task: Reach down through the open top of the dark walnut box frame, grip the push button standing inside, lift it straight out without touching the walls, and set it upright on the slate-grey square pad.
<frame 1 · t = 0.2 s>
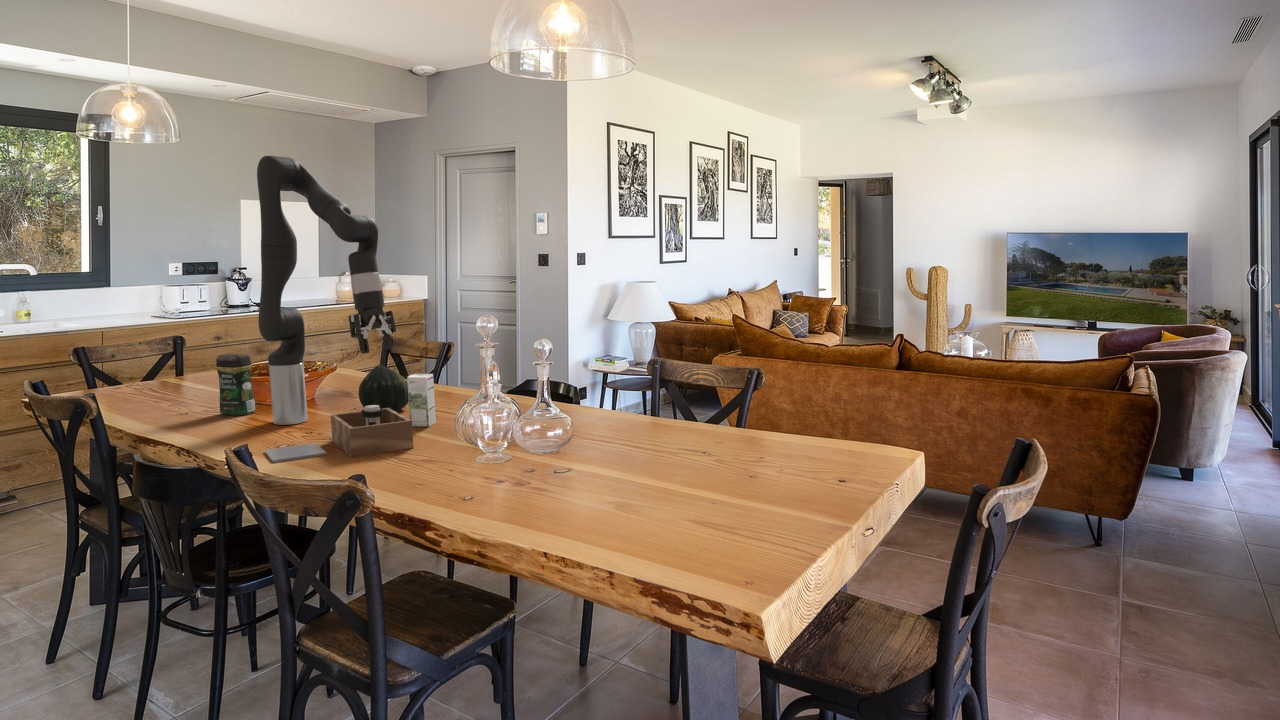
hand: (377, 351, 210), 23 cm above the table, tool pointing down, fingers open, 8 cm apart
coffee jar: (238, 414, 243), on the table
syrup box: (423, 426, 224), on the table
slate pad: (295, 453, 194), on the table
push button: (372, 445, 202), on the table
walnut box frame: (372, 444, 202), on the table
squash: (384, 411, 244), on the table
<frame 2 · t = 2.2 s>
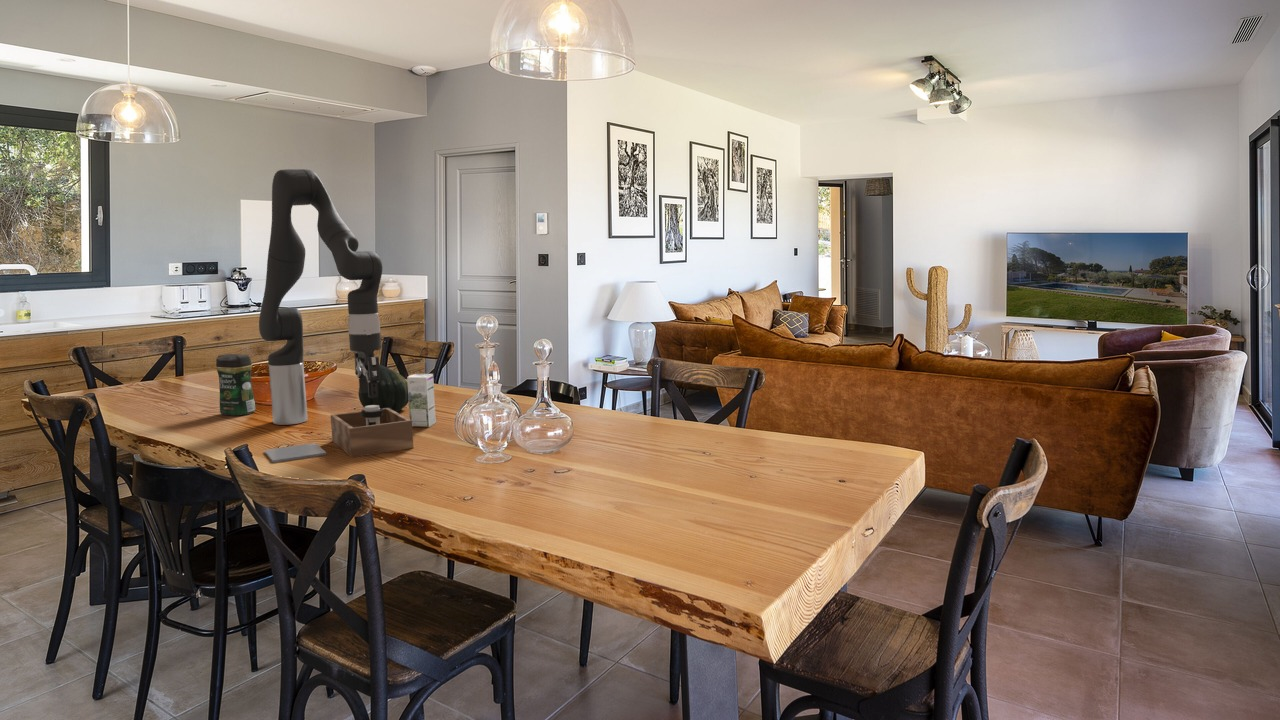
hand: (368, 395, 200), 13 cm above the table, tool pointing down, fingers open, 8 cm apart
nothing on the table moved.
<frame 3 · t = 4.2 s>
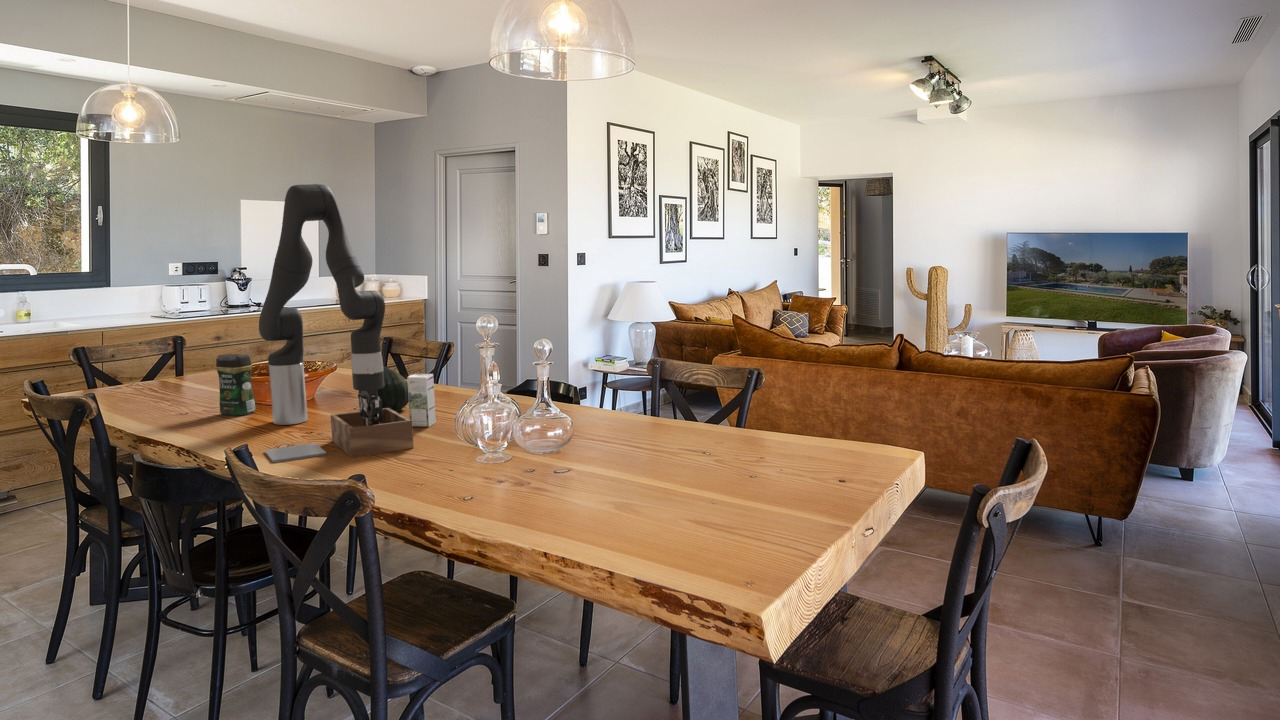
hand: (372, 435, 201), 2 cm above the table, tool pointing down, fingers closed on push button, 5 cm apart
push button: (372, 445, 202), on the table, touching gripper
everything else where it was.
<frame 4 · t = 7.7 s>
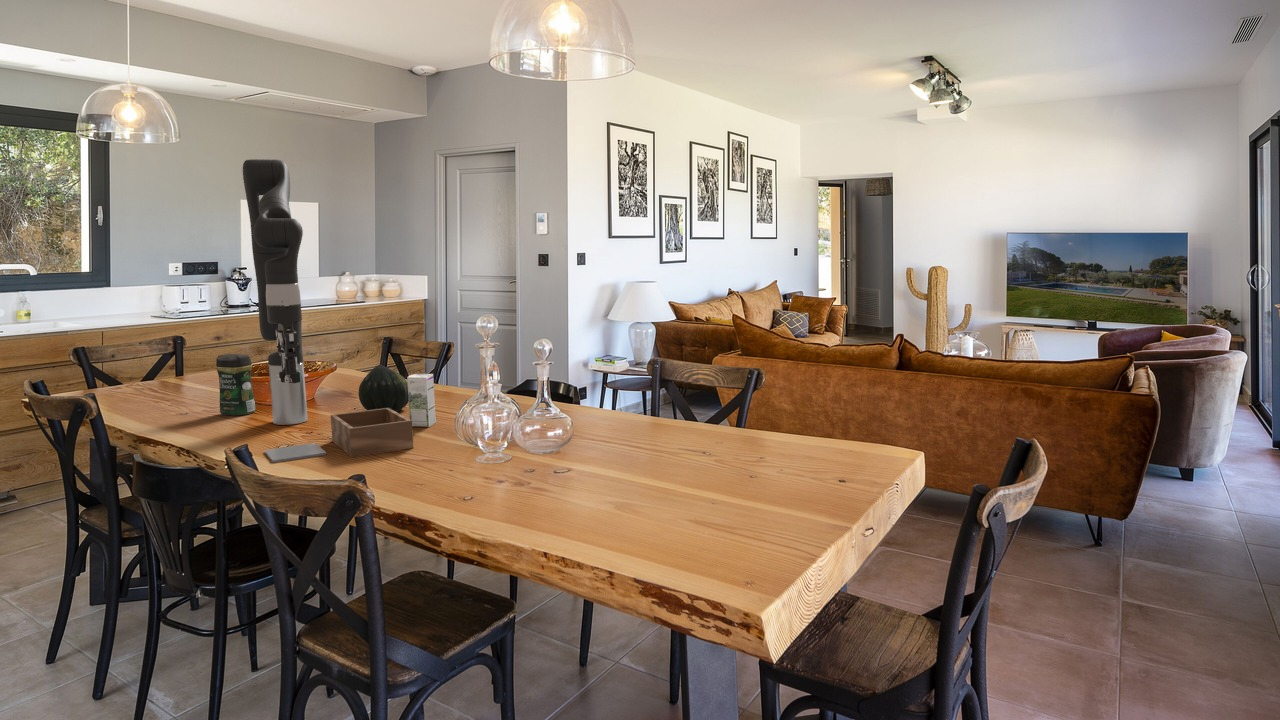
hand: (289, 372, 191), 20 cm above the table, tool pointing down, fingers closed on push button, 5 cm apart
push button: (289, 382, 192), point 18 cm above the table, touching gripper
everything else where it was.
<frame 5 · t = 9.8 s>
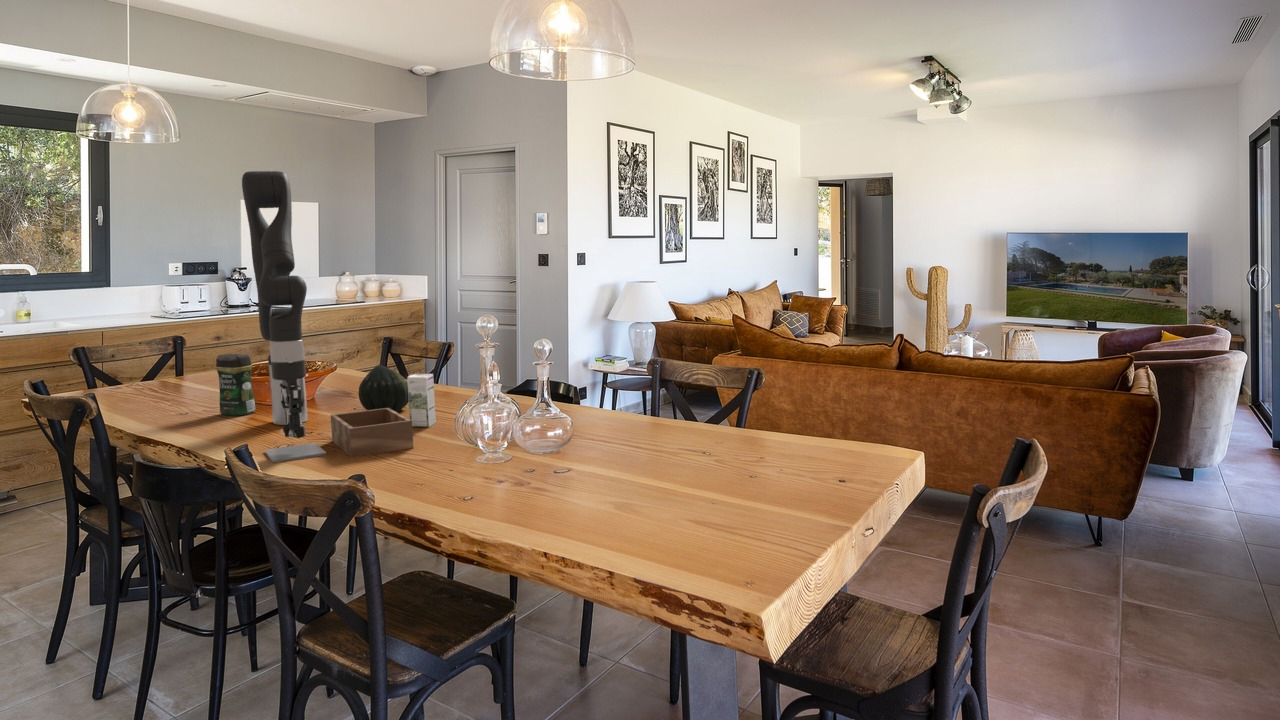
hand: (293, 427, 193), 7 cm above the table, tool pointing down, fingers closed on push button, 5 cm apart
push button: (293, 437, 194), point 4 cm above the table, touching gripper
everything else where it was.
when the fingers open (4 cm above the table, at t = 11.4 s): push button stays where it is, resting on slate pad.
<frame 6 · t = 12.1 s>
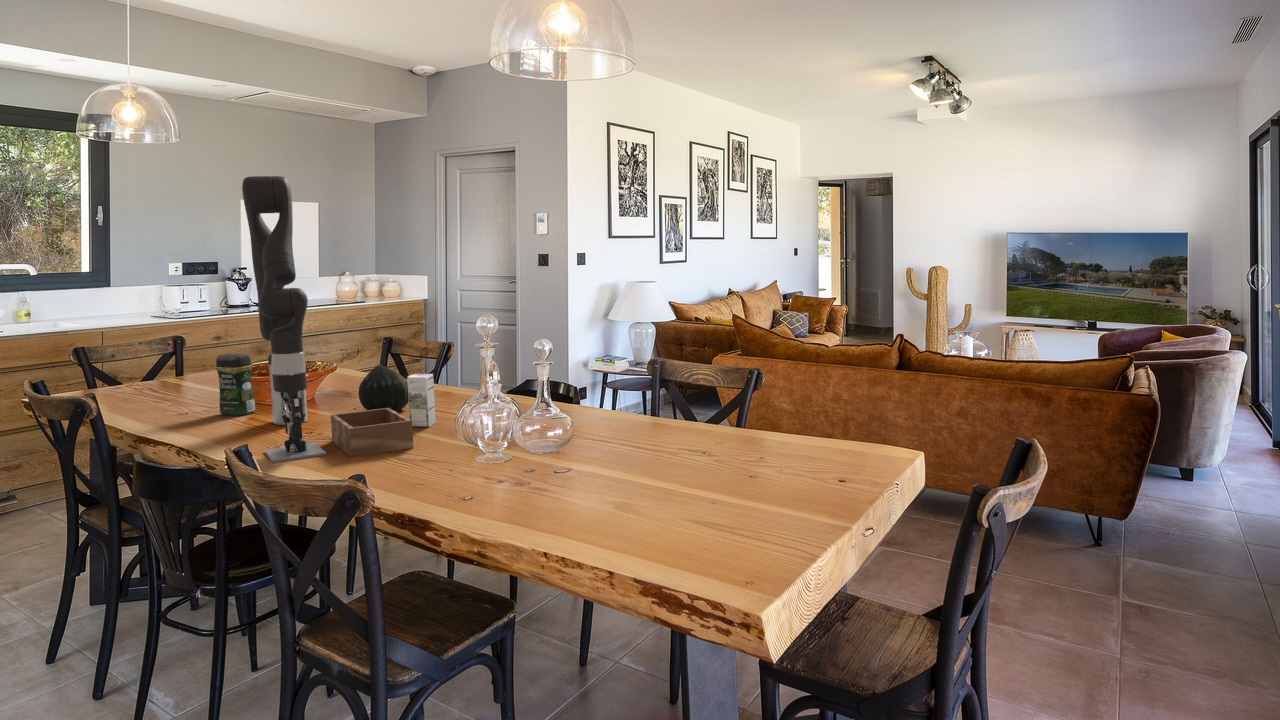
hand: (294, 436, 193), 4 cm above the table, tool pointing down, fingers open, 8 cm apart
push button: (294, 451, 195), resting on slate pad
everything else where it was.
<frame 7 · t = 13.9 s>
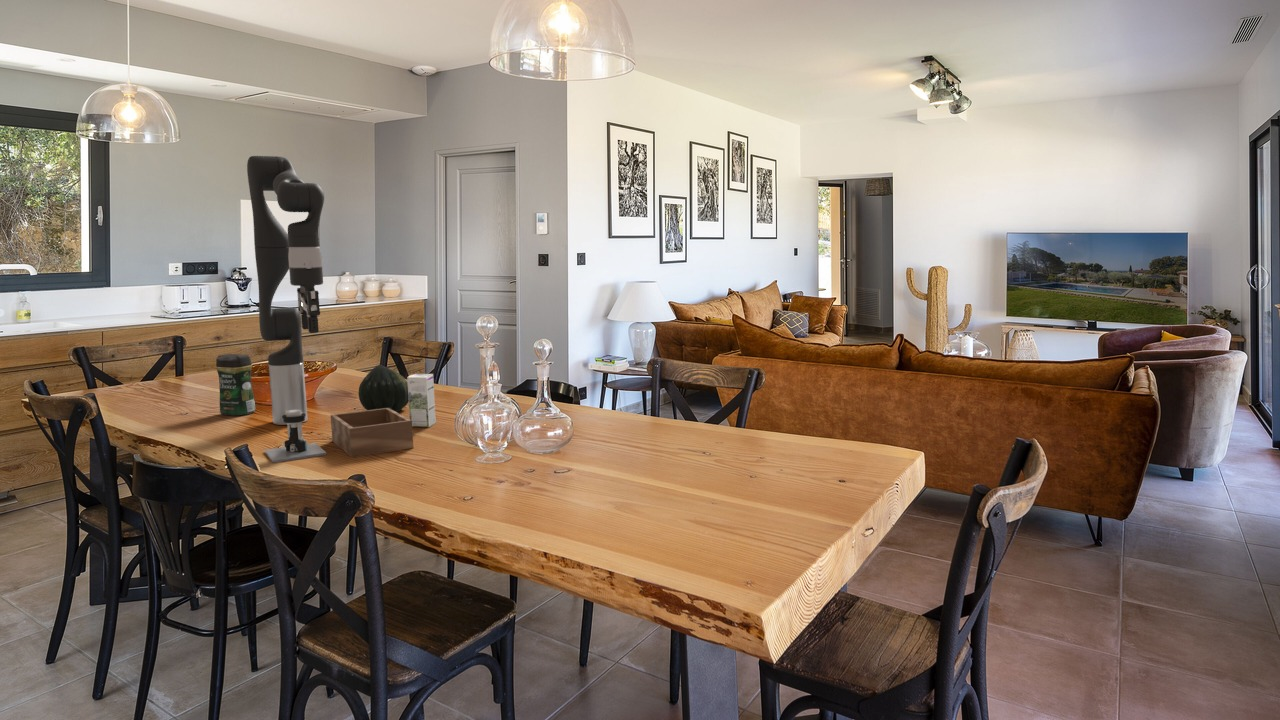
hand: (310, 330, 197), 30 cm above the table, tool pointing down, fingers open, 8 cm apart
nothing on the table moved.
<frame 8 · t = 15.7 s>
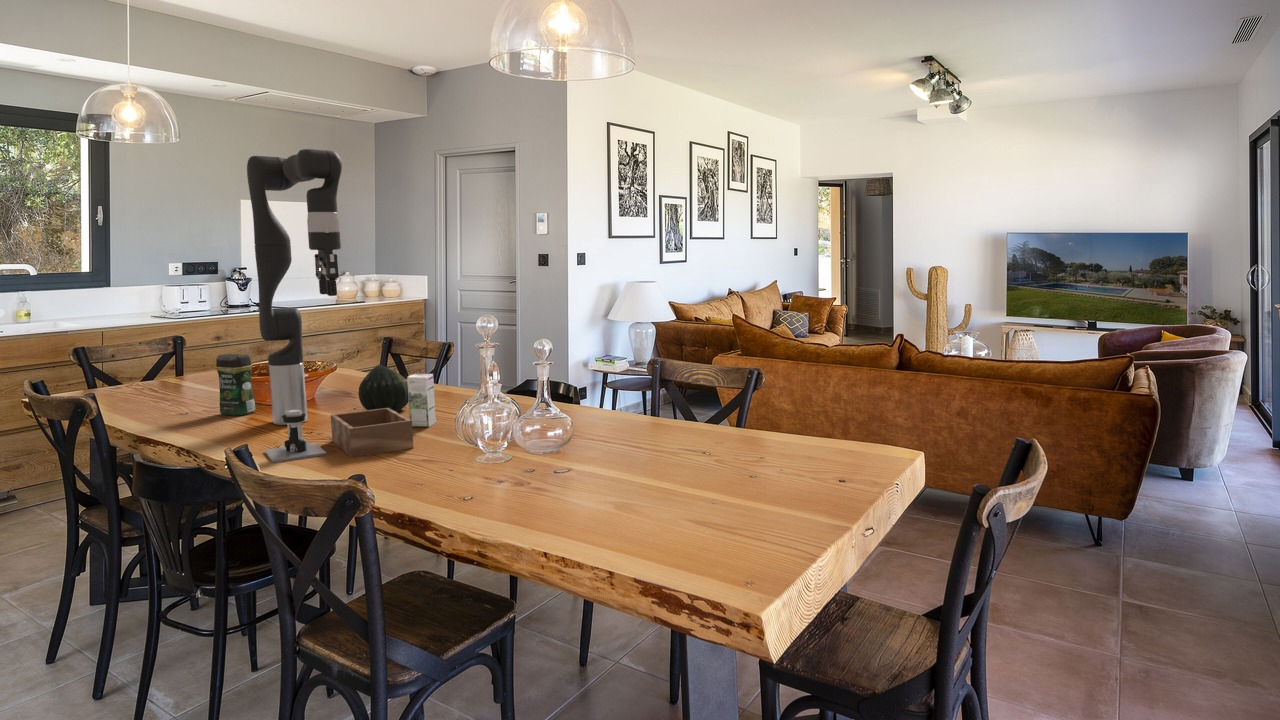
hand: (328, 295, 202), 38 cm above the table, tool pointing down, fingers open, 8 cm apart
nothing on the table moved.
at the end: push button inside the target area (0.8 cm from its centre), on the table; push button tilted 0°; the gripper is holding nothing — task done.
